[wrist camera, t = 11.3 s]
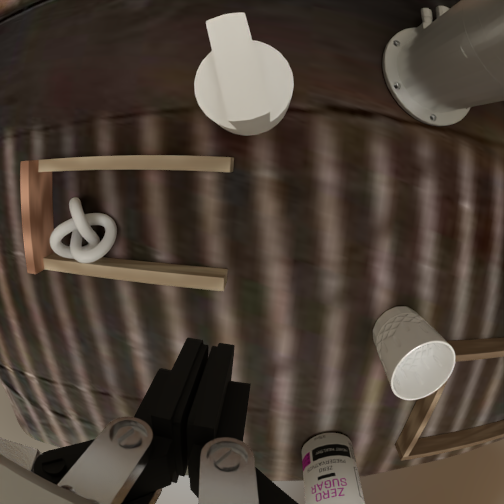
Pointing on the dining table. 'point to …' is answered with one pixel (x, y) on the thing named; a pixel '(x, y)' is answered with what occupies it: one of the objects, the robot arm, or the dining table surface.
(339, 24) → the dining table surface
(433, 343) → the white cup
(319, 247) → the dining table surface
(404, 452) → the serving tray rim
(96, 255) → the knot
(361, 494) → the supplement can
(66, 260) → the guide channel
